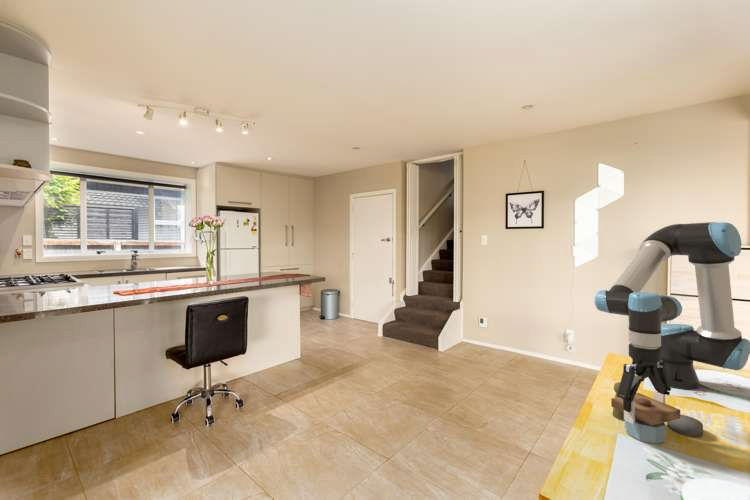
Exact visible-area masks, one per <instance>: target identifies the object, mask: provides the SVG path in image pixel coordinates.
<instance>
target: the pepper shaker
mask: <svg viewBox="0 0 750 500" xmlns="http://www.w3.org/2000/svg"><path fill="white" fill-rule="evenodd" d="M620 382H621V381H619V382H615V383H614V385H613V391H614V392H615V397H614V398H616V397H617V393H618V389H619V386H620ZM612 408H613V409H612V417H614V418H615V419H617V420H619V421H621V422H625V420H624V412H622V411H620V410H618V409H616V408H614V407H612Z"/></svg>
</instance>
